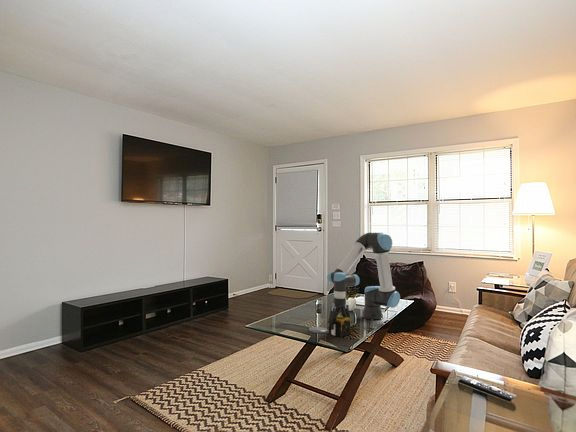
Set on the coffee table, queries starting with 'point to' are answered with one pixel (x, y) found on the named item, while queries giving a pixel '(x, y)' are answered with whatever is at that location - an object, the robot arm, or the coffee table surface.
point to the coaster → (318, 330)
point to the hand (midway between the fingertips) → (339, 333)
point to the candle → (341, 326)
